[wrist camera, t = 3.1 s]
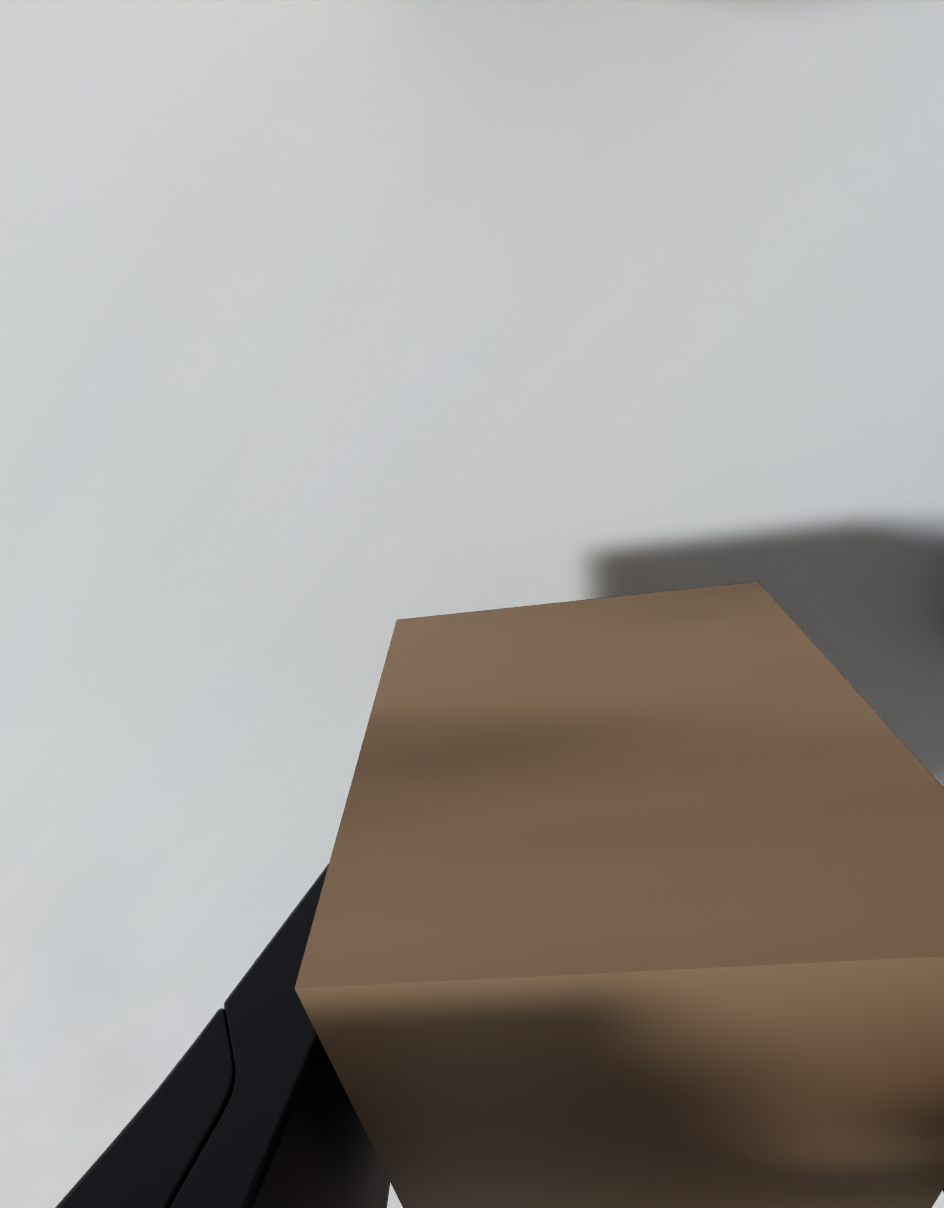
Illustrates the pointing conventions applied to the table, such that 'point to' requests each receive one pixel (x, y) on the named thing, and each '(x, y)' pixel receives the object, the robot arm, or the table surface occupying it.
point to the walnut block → (635, 917)
